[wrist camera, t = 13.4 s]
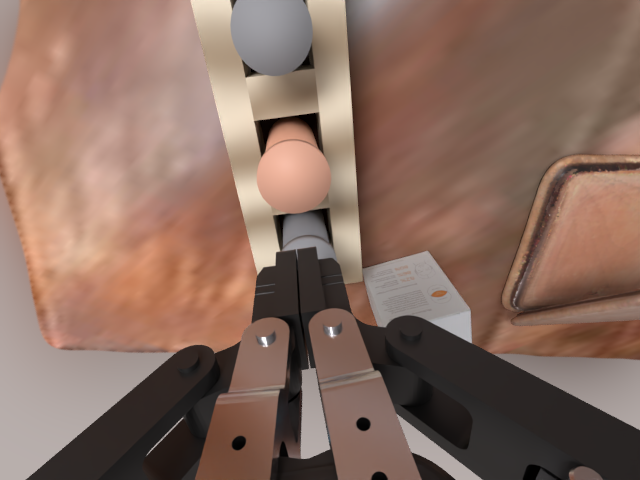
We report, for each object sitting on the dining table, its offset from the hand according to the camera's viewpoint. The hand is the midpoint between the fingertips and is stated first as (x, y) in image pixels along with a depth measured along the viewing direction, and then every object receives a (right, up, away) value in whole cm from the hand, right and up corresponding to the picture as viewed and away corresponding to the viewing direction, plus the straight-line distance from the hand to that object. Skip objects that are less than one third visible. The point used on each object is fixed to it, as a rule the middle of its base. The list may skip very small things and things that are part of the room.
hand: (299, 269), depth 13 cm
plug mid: (-2, +10, +17) cm, 20 cm away
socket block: (-2, +11, +19) cm, 22 cm away
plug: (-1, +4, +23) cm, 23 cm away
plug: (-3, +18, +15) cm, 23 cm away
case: (+34, +1, +29) cm, 44 cm away
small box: (+10, -3, +29) cm, 30 cm away
